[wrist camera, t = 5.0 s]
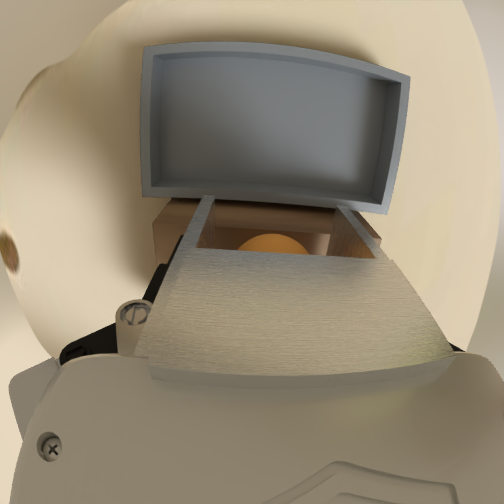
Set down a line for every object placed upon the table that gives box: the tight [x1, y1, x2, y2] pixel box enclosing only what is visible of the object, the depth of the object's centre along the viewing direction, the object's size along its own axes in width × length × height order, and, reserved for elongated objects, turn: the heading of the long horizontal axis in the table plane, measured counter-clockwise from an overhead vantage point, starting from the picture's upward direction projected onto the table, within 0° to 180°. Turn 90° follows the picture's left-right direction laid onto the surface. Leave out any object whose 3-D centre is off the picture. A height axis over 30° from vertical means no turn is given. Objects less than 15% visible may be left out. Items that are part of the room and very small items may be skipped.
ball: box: [238, 234, 309, 255], centre depth 12 cm, size 4×4×4 cm
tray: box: [140, 41, 410, 215], centre depth 14 cm, size 9×15×2 cm, turn 86°
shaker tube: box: [133, 195, 456, 389], centre depth 9 cm, size 6×6×9 cm
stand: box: [152, 197, 382, 267], centre depth 18 cm, size 10×12×5 cm
